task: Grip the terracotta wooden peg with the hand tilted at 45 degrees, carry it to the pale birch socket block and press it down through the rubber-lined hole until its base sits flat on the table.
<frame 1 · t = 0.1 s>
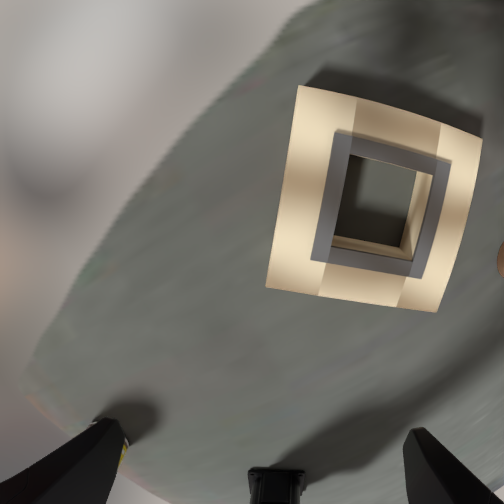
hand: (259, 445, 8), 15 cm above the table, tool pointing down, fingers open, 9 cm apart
socket block: (372, 201, 20), on the table
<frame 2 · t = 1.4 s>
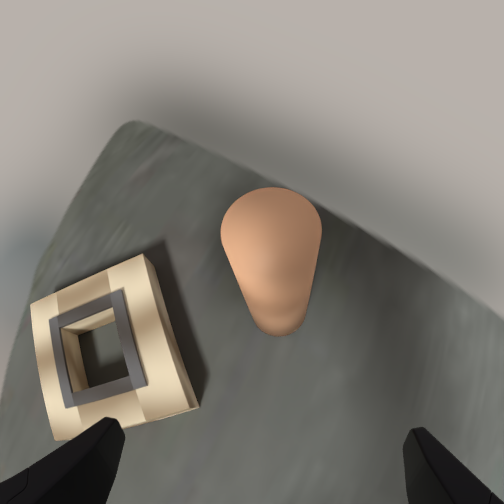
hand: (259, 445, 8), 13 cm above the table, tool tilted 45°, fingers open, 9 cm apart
peg: (278, 309, 23), on the table
socket block: (108, 356, 23), on the table
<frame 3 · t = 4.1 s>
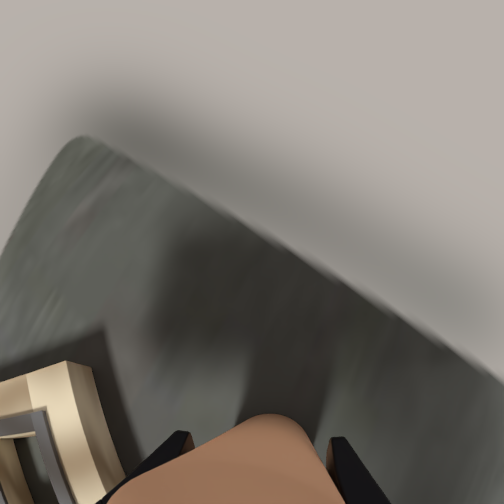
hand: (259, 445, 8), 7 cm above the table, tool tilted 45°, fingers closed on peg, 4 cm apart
peg: (269, 451, 13), on the table, touching gripper
socket block: (48, 474, 13), on the table
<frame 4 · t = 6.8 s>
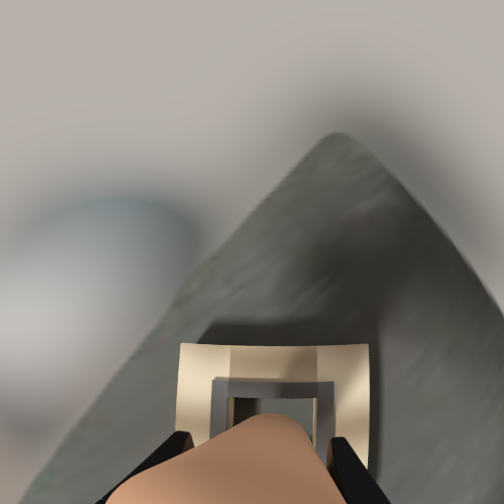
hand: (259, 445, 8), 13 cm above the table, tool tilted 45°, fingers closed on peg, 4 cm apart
peg: (269, 450, 13), point 6 cm above the table, touching gripper
socket block: (272, 435, 19), on the table
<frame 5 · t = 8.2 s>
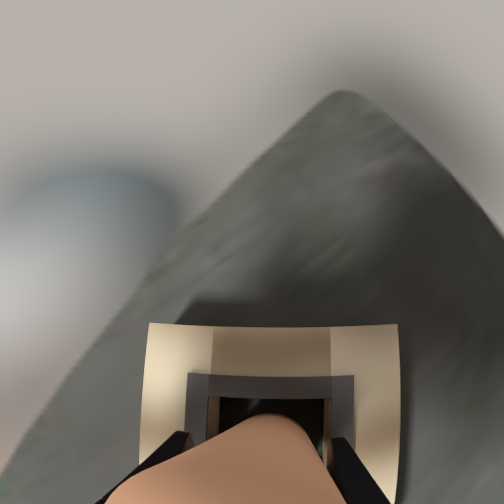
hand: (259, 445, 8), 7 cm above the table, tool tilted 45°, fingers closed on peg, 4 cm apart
peg: (269, 450, 13), point 1 cm above the table, touching gripper
socket block: (270, 447, 14), on the table
when the fingers open (7 cm above the table, at t = 9.3 s): peg stays where it is, resting in socket block.
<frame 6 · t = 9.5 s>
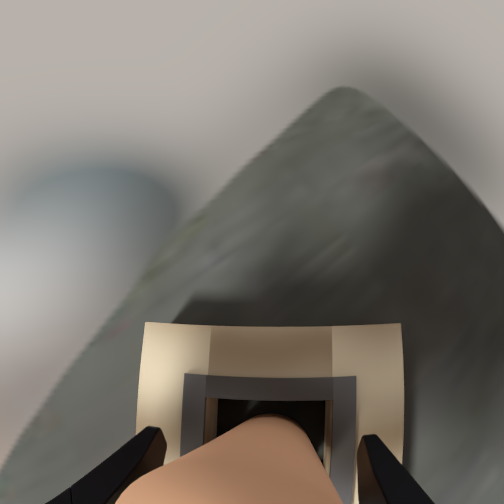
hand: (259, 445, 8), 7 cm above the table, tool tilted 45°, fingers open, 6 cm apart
peg: (269, 450, 14), resting in socket block
socket block: (269, 449, 14), on the table
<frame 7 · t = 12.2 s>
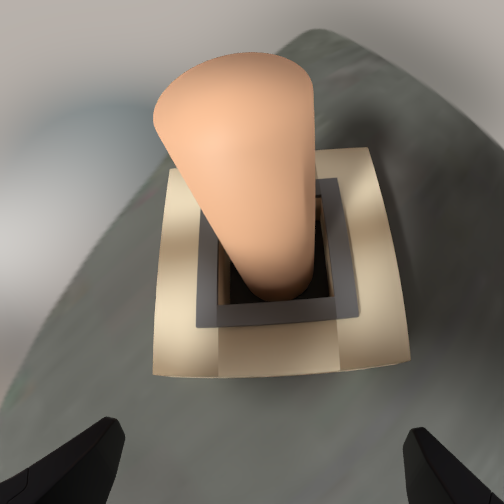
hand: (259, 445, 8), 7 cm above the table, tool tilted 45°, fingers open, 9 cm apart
peg: (277, 267, 18), resting in socket block
socket block: (277, 267, 18), on the table
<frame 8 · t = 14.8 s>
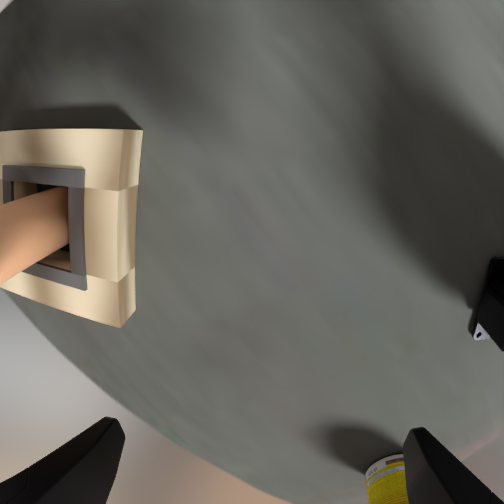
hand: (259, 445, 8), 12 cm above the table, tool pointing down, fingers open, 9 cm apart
peg: (63, 214, 19), resting in socket block
socket block: (62, 214, 19), on the table
supplement bottle: (389, 464, 25), on the table
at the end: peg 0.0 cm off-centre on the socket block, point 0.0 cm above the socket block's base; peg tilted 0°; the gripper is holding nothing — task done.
